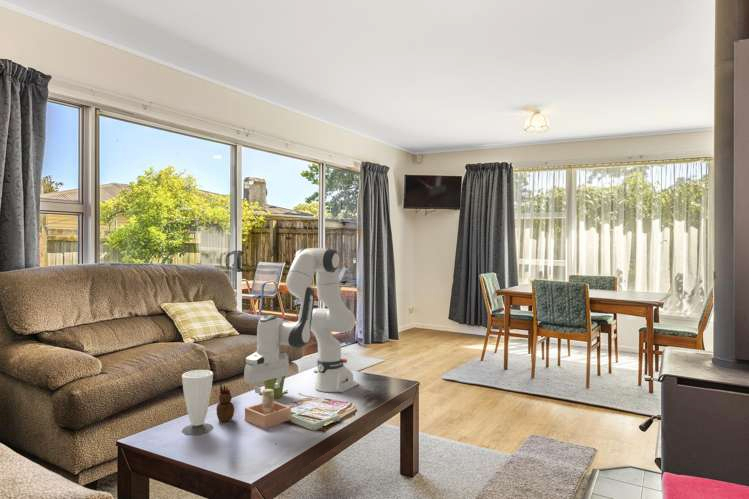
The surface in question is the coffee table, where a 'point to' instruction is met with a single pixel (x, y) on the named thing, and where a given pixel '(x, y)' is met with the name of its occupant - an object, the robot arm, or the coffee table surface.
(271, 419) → the frame
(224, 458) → the coffee table surface
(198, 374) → the cup
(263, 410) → the beech peg
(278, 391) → the plant pot
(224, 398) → the wooden figurine
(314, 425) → the sage tray
